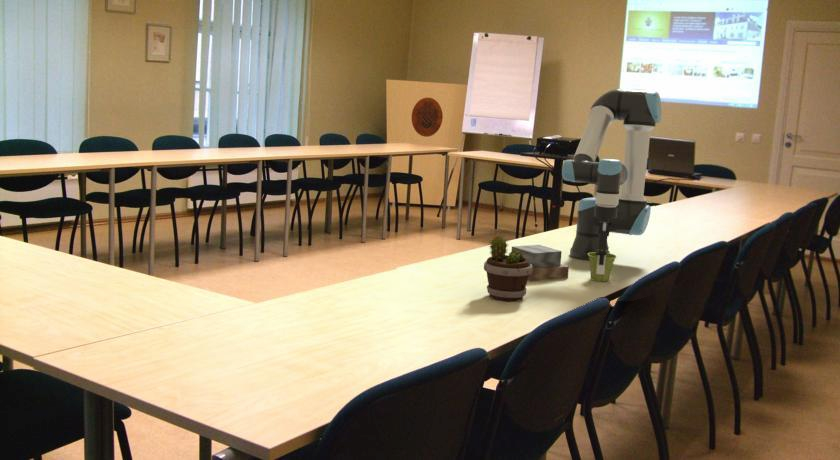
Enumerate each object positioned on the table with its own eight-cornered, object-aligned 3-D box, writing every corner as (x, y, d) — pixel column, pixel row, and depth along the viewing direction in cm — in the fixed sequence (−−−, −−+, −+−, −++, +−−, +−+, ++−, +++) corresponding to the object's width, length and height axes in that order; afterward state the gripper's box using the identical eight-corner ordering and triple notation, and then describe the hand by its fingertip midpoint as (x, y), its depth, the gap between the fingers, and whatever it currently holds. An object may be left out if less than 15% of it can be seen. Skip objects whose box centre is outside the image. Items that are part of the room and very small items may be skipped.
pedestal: (537, 268, 292) (539, 243, 291) (567, 277, 279) (570, 252, 277) (501, 271, 284) (503, 245, 282) (531, 281, 270) (533, 254, 269)
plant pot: (614, 284, 273) (616, 258, 272) (585, 281, 275) (587, 256, 273) (613, 278, 282) (615, 253, 281) (585, 275, 284) (587, 251, 282)
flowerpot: (534, 294, 253) (539, 231, 249) (524, 306, 238) (529, 238, 235) (489, 289, 257) (493, 226, 254) (476, 299, 243) (480, 233, 240)
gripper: (596, 200, 286) (590, 263, 289) (593, 208, 264) (588, 276, 268) (618, 202, 284) (612, 265, 288) (617, 210, 263) (611, 278, 266)
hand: (600, 270), depth 278 cm, fingers closed on plant pot, 9 cm apart
